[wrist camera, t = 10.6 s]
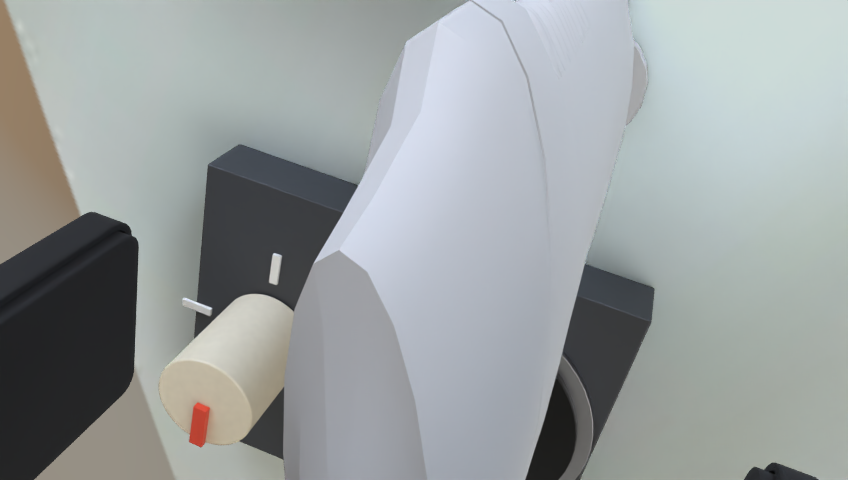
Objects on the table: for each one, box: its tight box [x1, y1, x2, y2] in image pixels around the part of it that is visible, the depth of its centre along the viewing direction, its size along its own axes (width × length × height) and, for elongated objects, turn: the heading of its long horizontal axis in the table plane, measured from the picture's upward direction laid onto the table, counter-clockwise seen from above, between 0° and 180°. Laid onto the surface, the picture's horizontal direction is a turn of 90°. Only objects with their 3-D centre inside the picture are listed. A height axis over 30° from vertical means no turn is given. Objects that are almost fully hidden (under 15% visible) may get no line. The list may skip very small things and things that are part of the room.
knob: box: [159, 294, 294, 447], centre depth 31 cm, size 4×4×5 cm
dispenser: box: [283, 0, 648, 480], centre depth 18 cm, size 11×4×22 cm, turn 1°
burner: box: [525, 351, 594, 480], centre depth 32 cm, size 11×11×1 cm
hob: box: [182, 145, 654, 480], centre depth 34 cm, size 19×14×3 cm
